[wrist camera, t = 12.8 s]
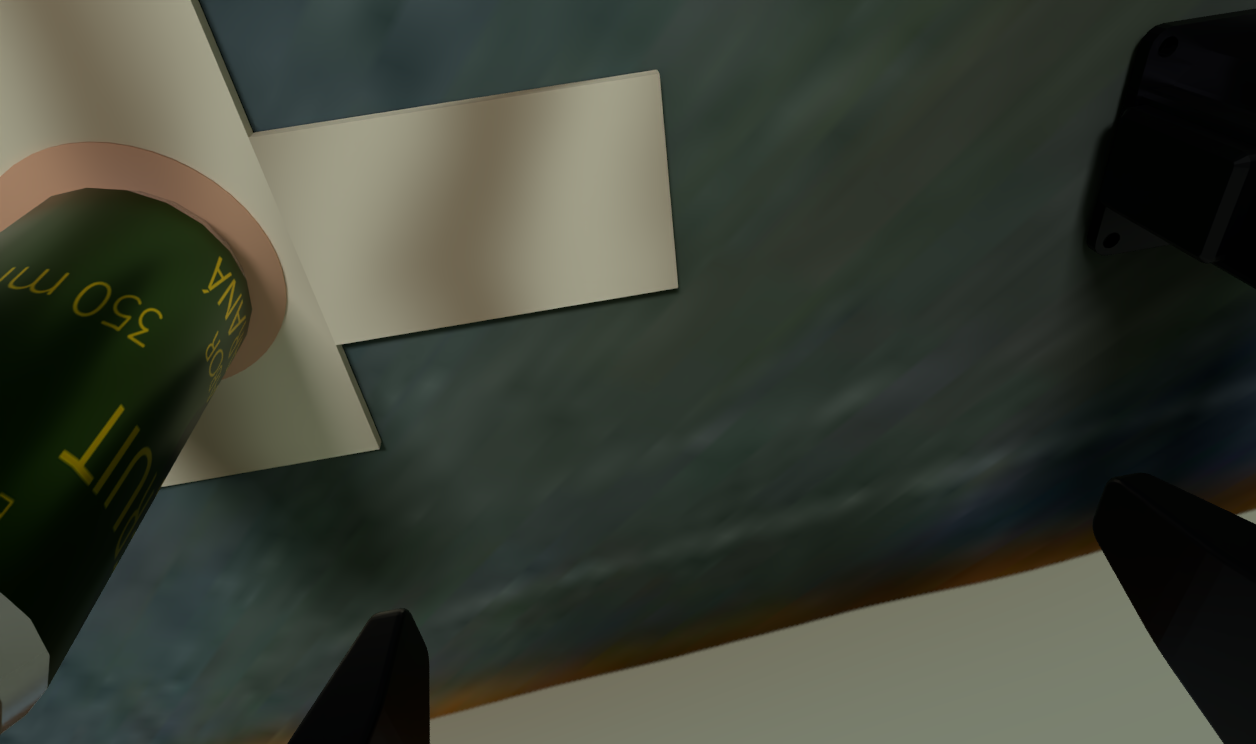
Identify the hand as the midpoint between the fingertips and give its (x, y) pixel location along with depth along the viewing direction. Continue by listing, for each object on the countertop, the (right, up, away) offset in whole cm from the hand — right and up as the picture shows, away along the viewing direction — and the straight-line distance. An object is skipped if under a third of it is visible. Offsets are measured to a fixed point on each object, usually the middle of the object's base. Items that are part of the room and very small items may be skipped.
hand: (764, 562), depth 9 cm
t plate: (-11, +6, +10) cm, 16 cm away
